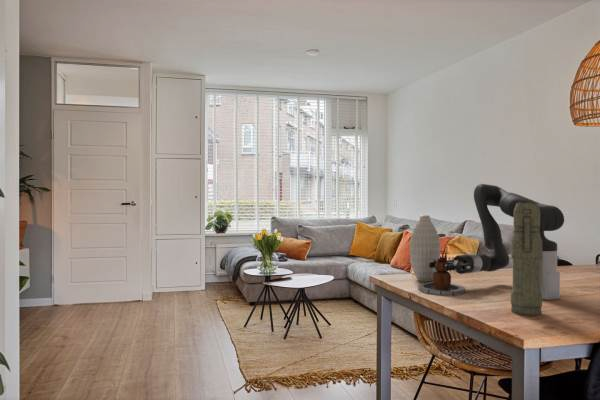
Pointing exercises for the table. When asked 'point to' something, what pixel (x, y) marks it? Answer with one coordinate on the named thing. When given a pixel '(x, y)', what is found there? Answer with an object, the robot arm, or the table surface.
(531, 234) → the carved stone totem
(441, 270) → the wooden figurine
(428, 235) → the vase
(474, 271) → the robot arm
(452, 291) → the steel ring
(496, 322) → the table surface
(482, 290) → the table surface
